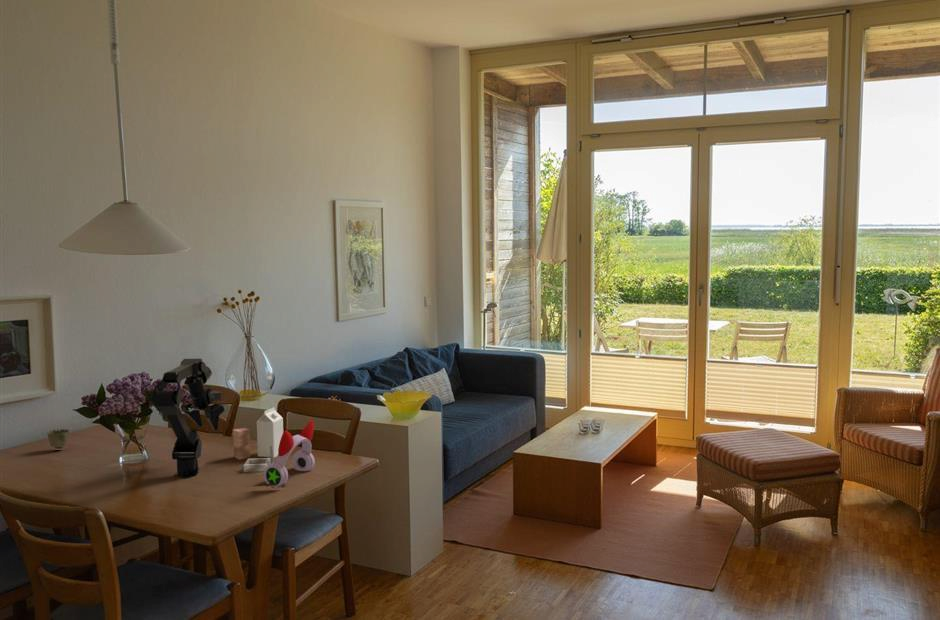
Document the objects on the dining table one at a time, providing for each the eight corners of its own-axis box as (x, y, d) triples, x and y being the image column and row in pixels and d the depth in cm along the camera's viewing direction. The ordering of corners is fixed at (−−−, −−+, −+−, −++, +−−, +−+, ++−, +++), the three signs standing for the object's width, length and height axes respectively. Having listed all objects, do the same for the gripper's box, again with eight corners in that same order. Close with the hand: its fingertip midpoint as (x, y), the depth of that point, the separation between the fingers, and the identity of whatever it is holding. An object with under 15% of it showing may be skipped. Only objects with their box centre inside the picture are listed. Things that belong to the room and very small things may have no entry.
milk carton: (257, 460, 292) (256, 410, 290) (268, 454, 299) (266, 406, 297) (274, 461, 290) (272, 411, 288) (284, 456, 296) (282, 407, 295)
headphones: (296, 471, 278) (294, 416, 276) (319, 473, 274) (318, 418, 272) (263, 487, 259) (261, 429, 257) (287, 490, 256) (286, 431, 254)
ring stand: (257, 479, 268) (256, 452, 267) (232, 474, 274) (231, 448, 273) (282, 470, 278) (281, 444, 277) (257, 465, 284) (256, 440, 283)
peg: (239, 463, 288) (238, 431, 286) (234, 460, 291) (233, 429, 290) (250, 461, 290) (249, 429, 289) (245, 458, 294) (244, 427, 293)
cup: (55, 448, 311) (54, 428, 310) (73, 448, 311) (72, 428, 310) (44, 453, 304) (43, 433, 303) (62, 453, 303) (61, 433, 303)
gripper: (230, 384, 283) (241, 421, 288) (199, 378, 294) (209, 415, 299) (206, 397, 275) (217, 435, 280) (174, 391, 285) (186, 428, 290)
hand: (208, 428), depth 287 cm, fingers open, 9 cm apart
